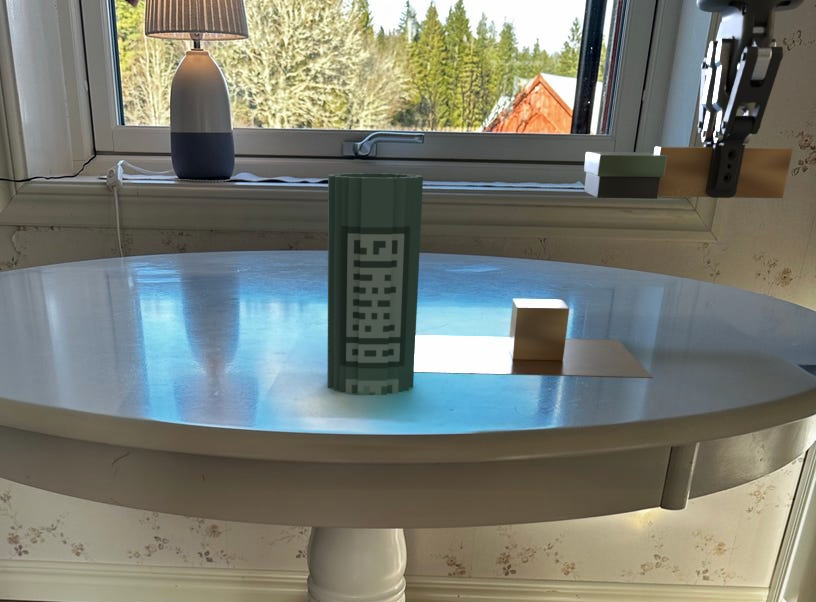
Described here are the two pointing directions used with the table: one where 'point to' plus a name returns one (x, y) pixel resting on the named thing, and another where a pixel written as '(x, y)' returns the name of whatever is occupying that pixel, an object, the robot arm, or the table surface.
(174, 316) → the table surface
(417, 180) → the can
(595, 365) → the board
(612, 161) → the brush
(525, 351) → the cork block
